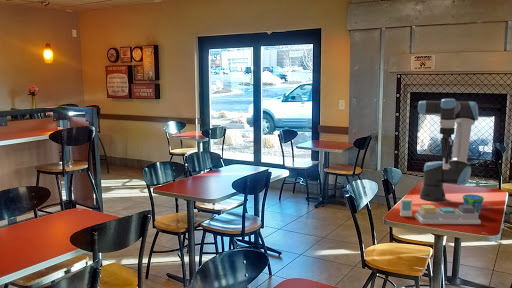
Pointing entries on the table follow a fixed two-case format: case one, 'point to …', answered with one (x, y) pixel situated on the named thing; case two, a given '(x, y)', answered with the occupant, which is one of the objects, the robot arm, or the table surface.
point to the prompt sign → (406, 207)
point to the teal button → (447, 210)
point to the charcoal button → (466, 209)
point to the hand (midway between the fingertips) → (445, 169)
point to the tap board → (447, 217)
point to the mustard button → (428, 209)
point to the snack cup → (473, 201)
